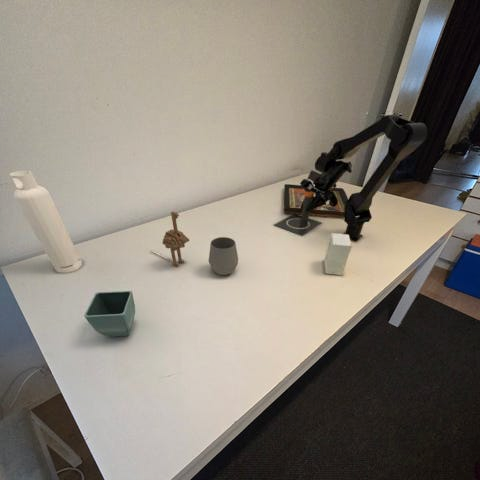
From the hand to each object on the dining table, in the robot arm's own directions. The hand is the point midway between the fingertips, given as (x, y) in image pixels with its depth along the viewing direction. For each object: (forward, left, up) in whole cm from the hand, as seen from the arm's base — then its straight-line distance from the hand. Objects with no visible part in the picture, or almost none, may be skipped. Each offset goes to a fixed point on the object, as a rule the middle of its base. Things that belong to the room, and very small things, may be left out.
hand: (303, 210), depth 106 cm
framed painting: (-28, -9, -7) cm, 31 cm away
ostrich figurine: (+54, -20, -7) cm, 58 cm away
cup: (+46, -1, -7) cm, 46 cm away
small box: (+20, +25, -7) cm, 33 cm away
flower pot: (+83, -2, -7) cm, 83 cm away
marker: (-1, +1, -7) cm, 7 cm away
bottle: (+79, -41, -7) cm, 89 cm away
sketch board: (-1, -2, -7) cm, 7 cm away
